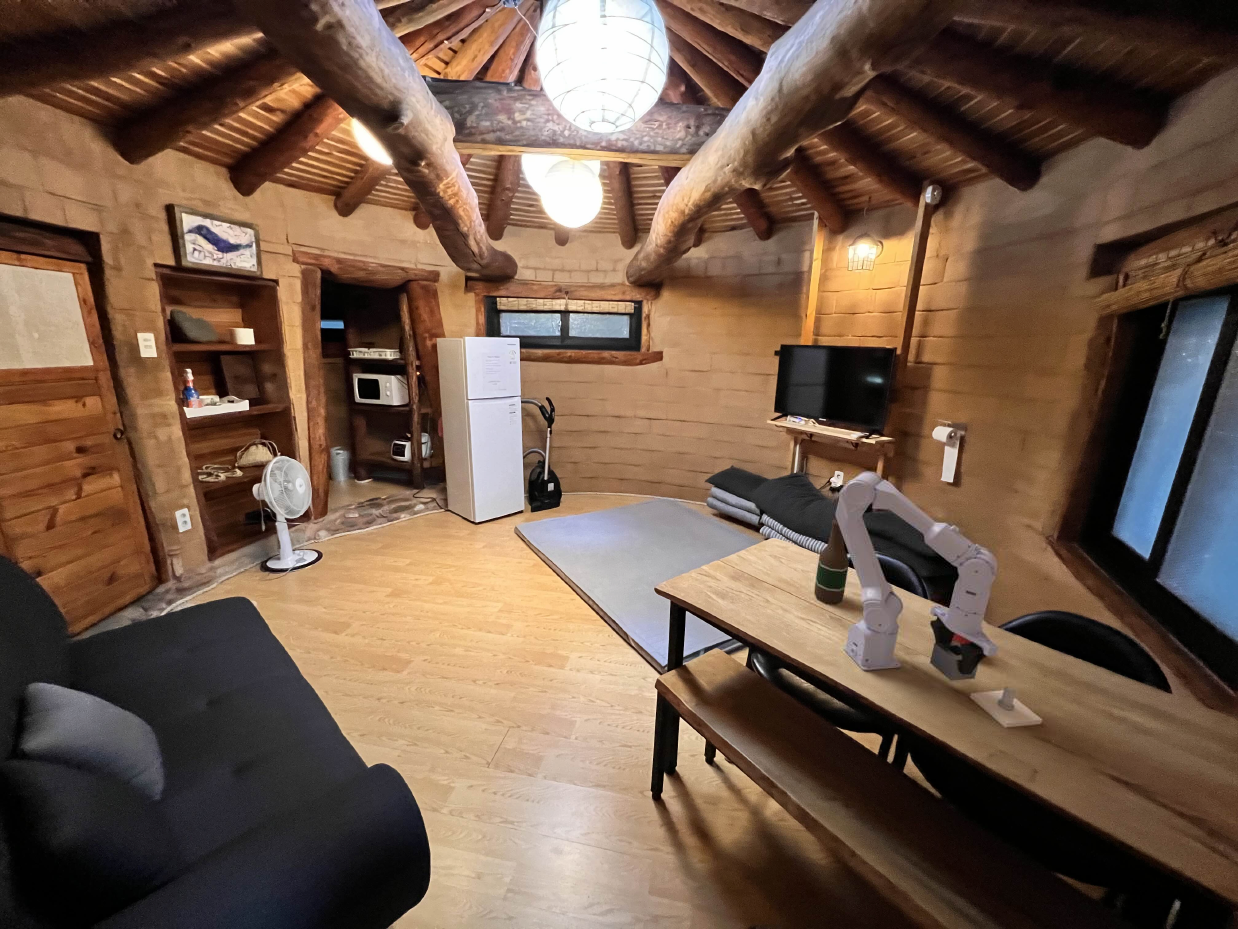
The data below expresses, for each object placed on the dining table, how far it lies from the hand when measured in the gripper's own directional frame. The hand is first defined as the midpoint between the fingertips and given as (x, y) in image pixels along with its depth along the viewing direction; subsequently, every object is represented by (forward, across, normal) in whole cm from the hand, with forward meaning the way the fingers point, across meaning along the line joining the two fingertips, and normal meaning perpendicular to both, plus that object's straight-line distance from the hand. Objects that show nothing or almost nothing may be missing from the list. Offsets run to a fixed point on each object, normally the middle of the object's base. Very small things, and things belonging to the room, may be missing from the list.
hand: (953, 663), depth 100 cm
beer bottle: (+7, +37, +5) cm, 38 cm away
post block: (+6, -7, -7) cm, 11 cm away
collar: (+2, 0, 0) cm, 2 cm away
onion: (+6, +11, -14) cm, 19 cm away
